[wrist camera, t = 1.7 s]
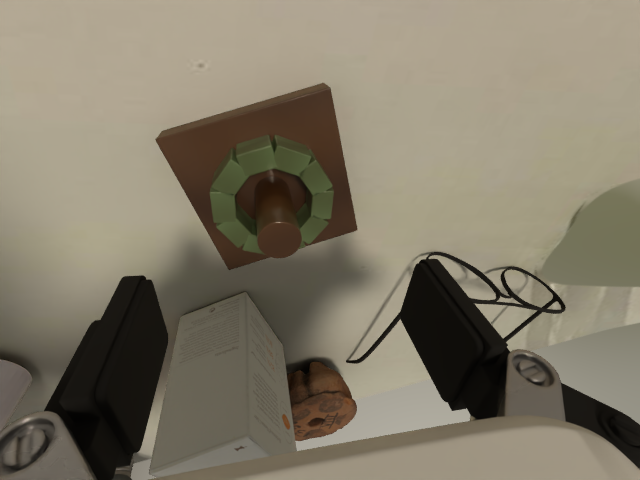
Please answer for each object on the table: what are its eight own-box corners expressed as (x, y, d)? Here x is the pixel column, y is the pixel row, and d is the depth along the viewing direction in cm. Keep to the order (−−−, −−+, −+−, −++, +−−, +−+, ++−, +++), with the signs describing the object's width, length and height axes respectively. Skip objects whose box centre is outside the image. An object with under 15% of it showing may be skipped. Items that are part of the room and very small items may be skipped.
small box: (179, 313, 24) (142, 475, 15) (247, 288, 23) (248, 437, 15) (228, 366, 28) (220, 511, 20) (284, 345, 28) (301, 482, 20)
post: (161, 131, 16) (121, 181, 11) (324, 82, 16) (360, 109, 11) (229, 256, 22) (224, 331, 16) (351, 219, 22) (385, 280, 16)
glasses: (537, 270, 29) (577, 313, 26) (445, 351, 38) (466, 393, 34) (414, 246, 24) (443, 295, 21) (341, 346, 33) (352, 393, 29)
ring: (190, 157, 16) (185, 170, 14) (313, 120, 16) (320, 129, 14) (238, 250, 20) (237, 268, 18) (337, 220, 20) (344, 235, 18)
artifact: (350, 344, 30) (366, 393, 26) (337, 387, 34) (349, 435, 30) (272, 351, 28) (276, 404, 24) (268, 395, 33) (271, 447, 29)
